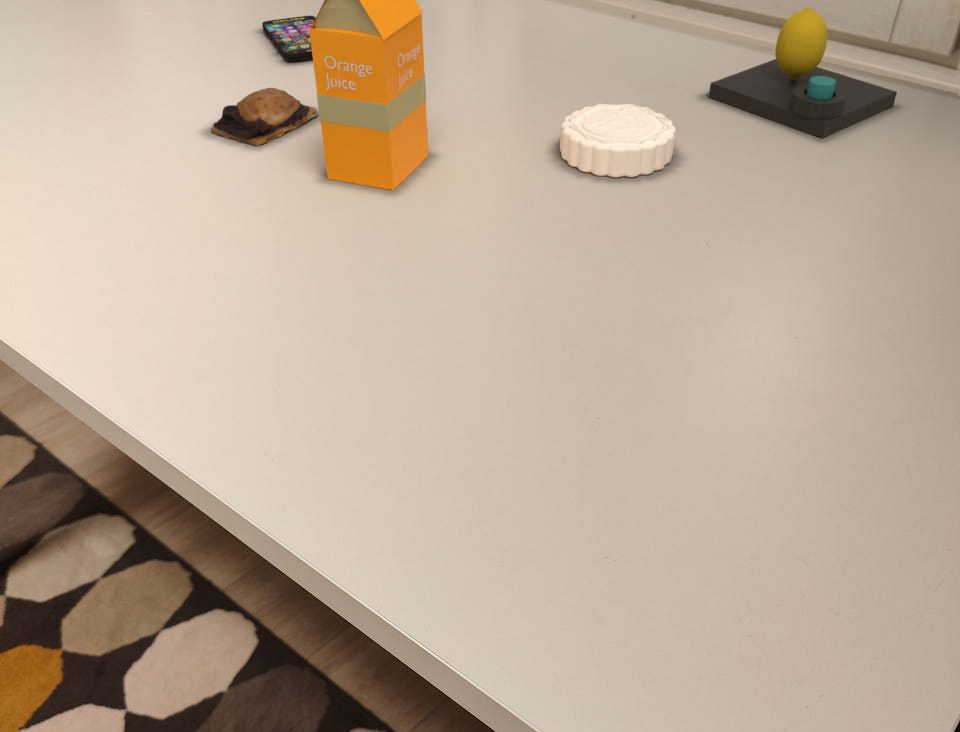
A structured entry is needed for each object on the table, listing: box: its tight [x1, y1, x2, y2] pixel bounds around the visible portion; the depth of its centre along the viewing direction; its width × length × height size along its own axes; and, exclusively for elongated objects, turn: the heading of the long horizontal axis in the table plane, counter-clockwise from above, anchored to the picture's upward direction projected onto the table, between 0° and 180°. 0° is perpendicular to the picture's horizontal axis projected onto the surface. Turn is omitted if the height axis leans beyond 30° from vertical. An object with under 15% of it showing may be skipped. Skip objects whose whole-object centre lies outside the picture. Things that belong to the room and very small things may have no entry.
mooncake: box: [559, 103, 677, 178], centre depth 100 cm, size 12×12×4 cm
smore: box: [210, 87, 319, 147], centre depth 107 cm, size 11×8×4 cm
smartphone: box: [261, 15, 317, 62], centre depth 128 cm, size 8×1×15 cm
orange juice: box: [309, 0, 429, 191], centre depth 92 cm, size 8×9×20 cm
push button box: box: [708, 58, 898, 139], centre depth 110 cm, size 16×14×4 cm
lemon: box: [775, 7, 828, 80], centre depth 109 cm, size 6×6×8 cm
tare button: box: [806, 76, 836, 99], centre depth 104 cm, size 3×3×2 cm
